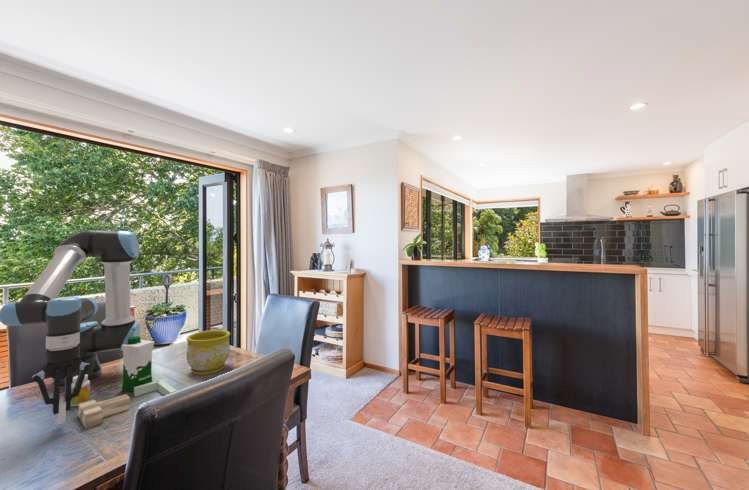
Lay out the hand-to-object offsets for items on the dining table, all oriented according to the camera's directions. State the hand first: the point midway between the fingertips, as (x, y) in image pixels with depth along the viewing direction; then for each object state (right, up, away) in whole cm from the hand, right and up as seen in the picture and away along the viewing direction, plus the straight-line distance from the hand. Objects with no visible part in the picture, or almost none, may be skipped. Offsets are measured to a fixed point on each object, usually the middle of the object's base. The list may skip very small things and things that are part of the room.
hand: (61, 422), depth 95 cm
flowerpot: (+21, -3, +47) cm, 51 cm away
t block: (+6, -2, +8) cm, 11 cm away
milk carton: (+2, -3, +28) cm, 29 cm away
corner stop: (+15, -2, +21) cm, 25 cm away
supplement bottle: (-9, -2, +16) cm, 18 cm away
